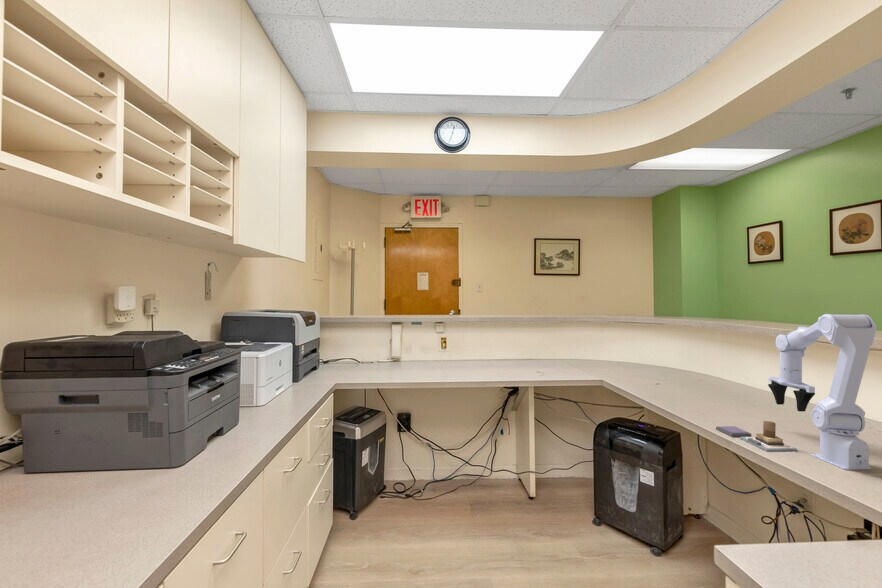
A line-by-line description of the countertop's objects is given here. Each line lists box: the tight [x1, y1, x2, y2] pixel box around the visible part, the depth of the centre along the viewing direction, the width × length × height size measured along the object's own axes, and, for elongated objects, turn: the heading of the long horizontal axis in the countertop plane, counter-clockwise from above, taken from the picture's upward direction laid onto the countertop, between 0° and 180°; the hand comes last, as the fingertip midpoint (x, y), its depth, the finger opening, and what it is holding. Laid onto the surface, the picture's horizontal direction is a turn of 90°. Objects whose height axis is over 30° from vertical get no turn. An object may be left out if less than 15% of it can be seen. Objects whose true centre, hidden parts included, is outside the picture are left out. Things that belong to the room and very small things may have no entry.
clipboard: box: [739, 436, 798, 452], centre depth 121 cm, size 10×10×1 cm
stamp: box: [754, 420, 785, 446], centre depth 121 cm, size 5×5×6 cm
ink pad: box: [715, 425, 752, 438], centre depth 131 cm, size 7×7×1 cm
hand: (790, 407), depth 129 cm, fingers open, 7 cm apart
